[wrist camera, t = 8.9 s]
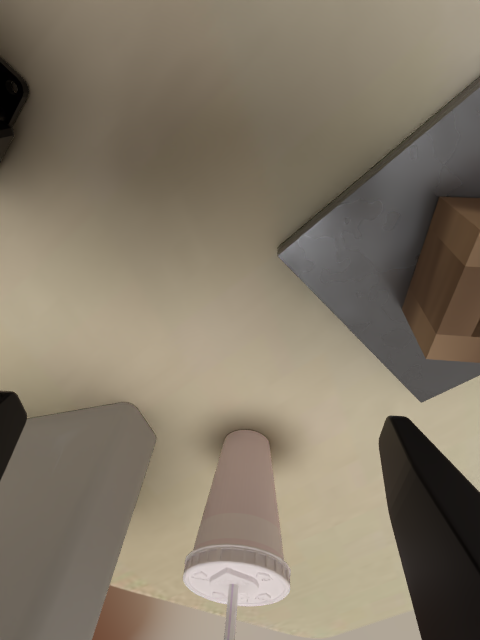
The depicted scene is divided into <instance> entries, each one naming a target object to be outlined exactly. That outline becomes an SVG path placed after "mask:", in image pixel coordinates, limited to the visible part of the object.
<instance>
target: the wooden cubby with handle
mask: <svg viewBox="0 0 480 640" xmlns="http://www.w3.org/2000/svg"><path fill="white" fill-rule="evenodd" d="M402 311H403V313H404V315H405V317H406V319H407V321H408V324H409V326H410V328H411V330H412V332H413V334H414V336H415V338H416V340H417V342H418V344H419V346H420V348H421V350H422V352H423V354H424V356H425V358H426V359H433V360H446V361H460V362H474V363H480V198H462V197H439V199H438V202H437V205H436V208H435V211H434V214H433V217H432V220H431V223H430V226H429V229H428V232H427V235H426V238H425V241H424V244H423V247H422V250H421V253H420V256H419V259H418V262H417V265H416V268H415V271H414V274H413V277H412V280H411V283H410V286H409V289H408V292H407V295H406V298H405V301H404V304H403V307H402Z"/></svg>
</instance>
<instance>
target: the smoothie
mask: <svg viewBox="0 0 480 640" xmlns="http://www.w3.org/2000/svg"><path fill="white" fill-rule="evenodd" d="M290 571H291V569H290V568H289V566H288V564H287V563H286V562H285V561H284V556H283V547H282V538H281V531H280V523H279V516H278V508H277V500H276V492H275V484H274V476H273V468H272V460H271V452H270V444H269V441H268V439H267V438H266V437H265V436H264V435H262V434H260V433H258V432H256V431H252V430H237V431H234V432H232V433H230V434H228V435H227V436H226V438H225V440H224V443H223V447H222V450H221V454H220V457H219V461H218V464H217V468H216V471H215V475H214V478H213V482H212V485H211V489H210V492H209V496H208V499H207V503H206V506H205V510H204V513H203V517H202V520H201V524H200V527H199V530H198V534H197V538H196V542H195V545H194V549H193V551H191V552H190V553H189V554H188V555H187V556H186V560H185V569H184V574H183V581H184V583H185V585H186V586H187V587H188V588H189V589H190V590H191V591H192V592H194V593H195V594H197V595H199V596H201V597H203V598H206V599H208V600H211V601H215V602H218V603H223V604H227V612H226V623H225V635H224V640H235V630H236V616H237V606H262V605H268V604H272V603H275V602H278V601H280V600H282V599H284V598H285V597H286V596H287V595H288V594H289V592H290Z"/></svg>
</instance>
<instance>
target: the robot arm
mask: <svg viewBox="0 0 480 640" xmlns="http://www.w3.org/2000/svg"><path fill="white" fill-rule="evenodd" d="M12 81H13V82H14V83H15V84H16V85H17V88H18V91H17V93H15V92H14V91H13V89H12V86H11V83H12ZM28 94H29V89H28V85H27V83H26V81H25V80H24V79H23V78H22V77H21V76H20V75H19V74H18V73H17V72H16V71H15V70H14V69H13V68H12V67H11V66H10V65H9V64H8V63H6V62H5V61H4V60H3V59H2V58H1V57H0V162H1V160H2V158H3V156H4V154H5V152H6V150H7V149H8V147H9V145H10V143H11V141H12V139H13V137H14V132H13V128H12V126H13V124H14V122H15V120H16V118H17V117H18V115H19V113H20V111H21V109H22V107H23V105H24V103H25V101H26V99H27V97H28ZM26 420H27V413H26V411H25V409H24V407H23V405H22V403H21V401H20V399H19V397H18V395H17V394H16V393H15V392H12V391H0V481H1V479H2V476H3V474H4V472H5V470H6V468H7V465H8V463H9V461H10V458H11V456H12V454H13V452H14V449H15V447H16V445H17V442H18V440H19V438H20V435H21V433H22V431H23V429H24V426H25V424H26ZM379 451H380V458H381V465H382V472H383V478H384V485H385V492H386V498H387V505H388V510H389V515H390V520H391V524H392V528H393V532H394V535H395V539H396V543H397V547H398V551H399V554H400V558H401V562H402V566H403V570H404V574H405V577H406V581H407V585H408V589H409V593H410V596H411V600H412V604H413V608H414V612H415V615H416V619H417V623H418V626H419V631H420V634H421V638H422V640H480V492H479V491H478V490H477V489H476V488H475V487H474V486H473V485H472V484H471V483H470V482H469V481H468V480H467V479H466V478H465V477H464V475H463V474H462V473H461V472H460V471H459V470H458V469H457V468H456V467H455V466H454V465H453V464H452V463H451V462H450V461H449V460H448V459H447V458H446V457H445V456H444V455H443V454H442V453H441V452H440V451H439V450H438V449H437V447H436V446H435V445H434V444H433V443H432V442H431V441H430V440H429V439H428V438H427V437H426V436H425V435H424V434H423V433H422V432H421V431H420V430H419V429H418V428H417V427H416V426H415V425H414V424H413V423H412V422H411V420H409V419H408V418H407V417H404V416H388V417H387V418H386V420H385V423H384V426H383V429H382V431H381V434H380V437H379Z"/></svg>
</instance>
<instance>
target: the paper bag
mask: <svg viewBox="0 0 480 640" xmlns="http://www.w3.org/2000/svg"><path fill="white" fill-rule="evenodd" d="M155 443H156V436H155V434H154V432H153V431H152V429H151V428H150V426H149V425H148V423H147V422H146V420H145V419H144V417H143V416H142V414H141V413H140V412H139V410H138V409H137V408H136V407H135V406H134V405H132V404H130V403H125V402H121V403H115V404H109V405H104V406H98V407H92V408H86V409H81V410H75V411H69V412H63V413H57V414H52V415H46V416H40V417H34V418H29V419H27V420H26V424H25V426H24V429H23V431H22V433H21V435H20V438H19V440H18V442H17V445H16V447H15V449H14V452H13V454H12V456H11V458H10V461H9V463H8V465H7V468H6V470H5V472H4V474H3V476H2V479H1V481H0V640H92V637H93V634H94V631H95V628H96V624H97V622H98V618H99V615H100V612H101V609H102V606H103V603H104V600H105V597H106V594H107V591H108V588H109V585H110V582H111V579H112V576H113V572H114V569H115V566H116V563H117V560H118V557H119V554H120V551H121V548H122V545H123V542H124V539H125V536H126V533H127V529H128V526H129V523H130V520H131V517H132V514H133V511H134V508H135V505H136V502H137V499H138V496H139V493H140V489H141V486H142V483H143V480H144V477H145V474H146V471H147V468H148V465H149V462H150V459H151V456H152V453H153V450H154V446H155Z"/></svg>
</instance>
